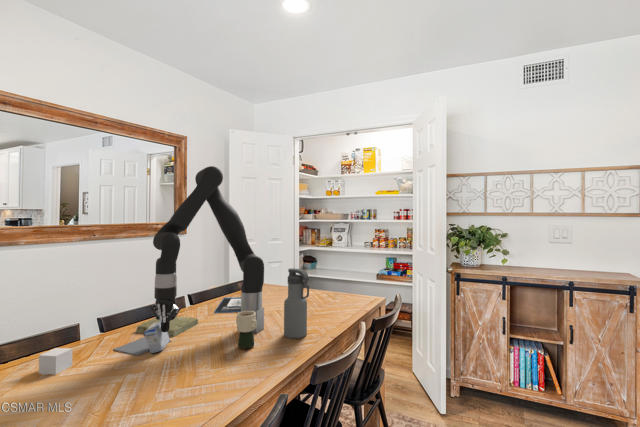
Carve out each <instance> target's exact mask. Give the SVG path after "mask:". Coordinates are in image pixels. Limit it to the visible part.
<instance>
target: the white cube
mask: <svg viewBox="0 0 640 427" xmlns="http://www.w3.org/2000/svg"><path fill="white" fill-rule="evenodd" d="M71 366H72V367H73V348H69V347H68V348H67V347H65V348H63V347H54V348H53V349H50V350H48V351H45V352H43V353H40V354H39V355H38V374H39V375H48V374H52V376H53V375H54V376H57V375H58V373H59V374H60V372H61V373H63V372H64V371H66V370H68V369H70V368H72V367H71ZM69 367H70V368H69ZM67 368H68V369H67ZM65 369H66V370H65ZM63 370H64V371H63ZM56 374H57V375H56Z"/></svg>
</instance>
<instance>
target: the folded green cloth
mask: <svg viewBox="0 0 640 427" xmlns="http://www.w3.org/2000/svg"><path fill="white" fill-rule="evenodd" d="M167 317H168V316H167ZM156 322H160V320H157V319H156V317H154V318H152V319H149V320H147V321H145V322H142V323H141V324H139V325H137V327H136V330H135V333H136V334H144V332H145V331H146V330H147V329H148V328H149V327H150V326H151V325H152V324H153V323H156ZM197 325H199V319H198V318H195V317H187V316H176V317H175V319H174V320H171V321H170V328H169V331H167V332H168V335H169V338H175V337H177V336H179V335H181V334H182V333H185V332H186V331H188V330H190V329H191V328H193V327H196V326H197Z"/></svg>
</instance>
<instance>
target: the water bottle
mask: <svg viewBox="0 0 640 427" xmlns="http://www.w3.org/2000/svg"><path fill="white" fill-rule="evenodd" d="M309 278H310V277H309V274H308V272H307V271H305V269H302V268H295V267H294V268H293V267H292V268H288V276H287V297H286V298H285V300H284V302H283V334H284V337H285V338H288V339H296V340H297V339H303V338H304V337H306V336H307V334H308V301H307V298H308V297H309V296H310V285H308V281H309V280H310V279H309ZM305 288H306V291H307V292H306V295H305V296H304V289H305Z"/></svg>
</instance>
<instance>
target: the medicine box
mask: <svg viewBox="0 0 640 427" xmlns="http://www.w3.org/2000/svg"><path fill="white" fill-rule="evenodd" d="M143 334H144V337H146V340H147V343H148V346H149V349H150V351H149V352H150V354H155V353H157V352H161V351H163V350H164V349H165V347H166V346H167V345H168V344H169V343H170V342H169V341H170V340H171V337H169V335H168V332H161V322H156V323H153V324H152V325H151V326H150V327H149V328H148V329H147V330H146V331H145V332H144V333H143ZM168 342H169V343H168Z"/></svg>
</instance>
